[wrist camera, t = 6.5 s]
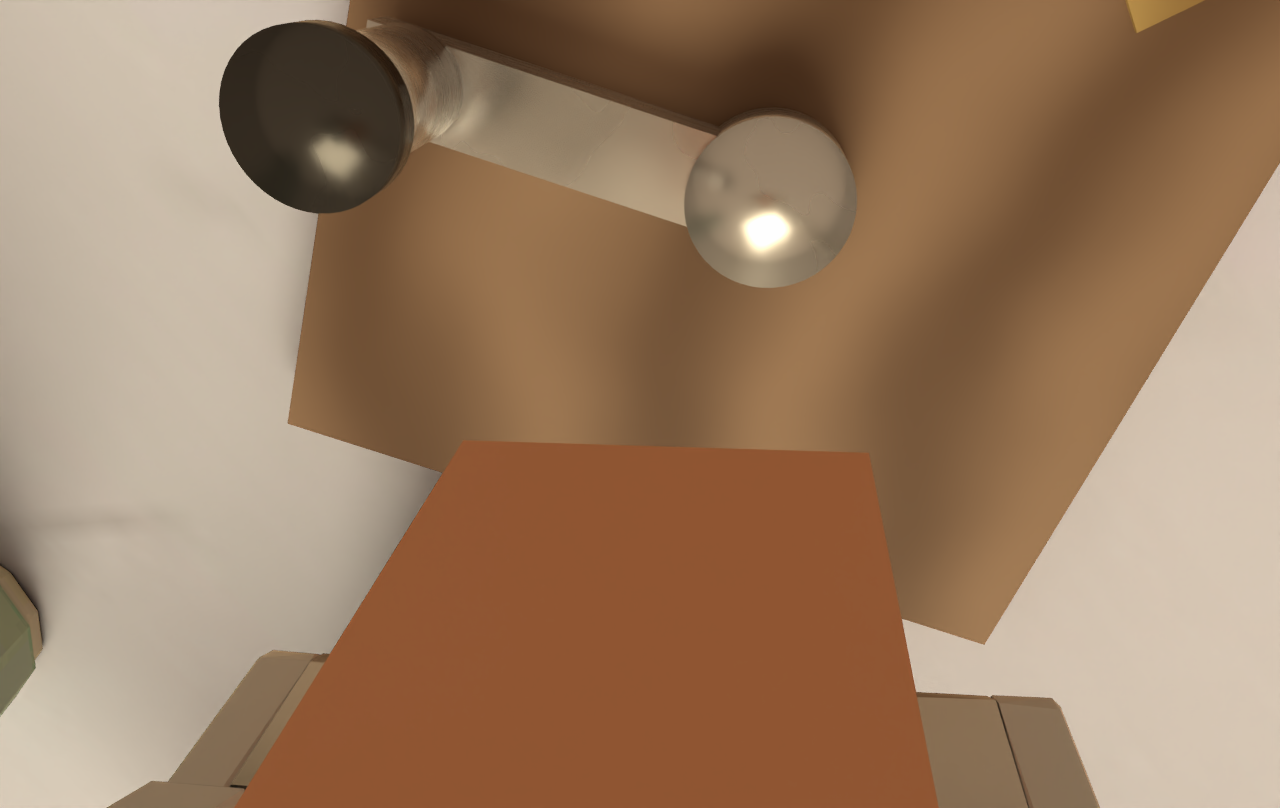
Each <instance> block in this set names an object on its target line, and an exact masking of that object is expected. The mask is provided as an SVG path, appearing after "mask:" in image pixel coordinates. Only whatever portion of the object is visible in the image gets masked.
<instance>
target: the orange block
mask: <svg viewBox="0 0 1280 808" xmlns="http://www.w3.org/2000/svg"><path fill="white" fill-rule="evenodd" d="M234 808H939V806H938V801H937V796H936V791H935V786H934V781H933V776H932V771H931V766H930V761H929V756H928V751H927V746H926V740H925V735H924V730H923V725H922V720H921V715H920V710H919V705H918V700H917V695H916V690H915V685H914V680H913V674H912V669H911V664H910V659H909V654H908V649H907V644H906V639H905V634H904V629H903V624H902V619H901V613H900V608H899V603H898V598H897V593H896V588H895V583H894V578H893V573H892V568H891V563H890V558H889V553H888V547H887V542H886V537H885V532H884V527H883V522H882V517H881V512H880V507H879V502H878V497H877V492H876V487H875V481H874V476H873V471H872V466H871V461H870V456H869V453H860V452H828V451H796V450H763V449H731V448H699V447H666V446H634V445H601V444H569V443H537V442H504V441H472V440H463V441H462V443H461V445H460V446H459V448H458V449H457V451H456V453H455V454H454V456H453V457H452V459H451V461H450V462H449V464H448V466H447V467H446V469H445V470H444V472H443V474H442V475H441V477H440V478H439V480H438V482H437V483H436V485H435V486H434V488H433V490H432V491H431V493H430V494H429V496H428V498H427V499H426V501H425V502H424V504H423V506H422V507H421V509H420V510H419V512H418V514H417V515H416V517H415V518H414V520H413V522H412V523H411V525H410V526H409V528H408V530H407V531H406V533H405V534H404V536H403V538H402V539H401V541H400V543H399V544H398V546H397V547H396V549H395V551H394V552H393V554H392V555H391V557H390V559H389V560H388V562H387V563H386V565H385V567H384V568H383V570H382V571H381V573H380V575H379V576H378V578H377V579H376V581H375V583H374V584H373V586H372V587H371V589H370V591H369V592H368V594H367V595H366V597H365V599H364V600H363V602H362V603H361V605H360V607H359V608H358V610H357V611H356V613H355V615H354V616H353V618H352V620H351V621H350V623H349V624H348V626H347V628H346V629H345V631H344V632H343V634H342V636H341V637H340V639H339V640H338V642H337V644H336V645H335V647H334V648H333V650H332V652H331V653H330V655H329V656H328V658H327V660H326V661H325V663H324V664H323V666H322V668H321V669H320V671H319V672H318V674H317V676H316V677H315V679H314V680H313V682H312V684H311V685H310V687H309V688H308V690H307V692H306V693H305V695H304V697H303V698H302V700H301V701H300V703H299V705H298V706H297V708H296V709H295V711H294V713H293V714H292V716H291V717H290V719H289V721H288V722H287V724H286V725H285V727H284V729H283V730H282V732H281V733H280V735H279V737H278V738H277V740H276V741H275V743H274V745H273V746H272V748H271V749H270V751H269V753H268V754H267V756H266V757H265V759H264V761H263V762H262V764H261V765H260V767H259V769H258V770H257V772H256V774H255V775H254V777H253V778H252V780H251V782H250V783H249V785H248V786H247V788H246V790H245V791H244V793H243V794H242V796H241V798H240V799H239V801H238V802H237V804H236V806H235V807H234Z"/></svg>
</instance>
